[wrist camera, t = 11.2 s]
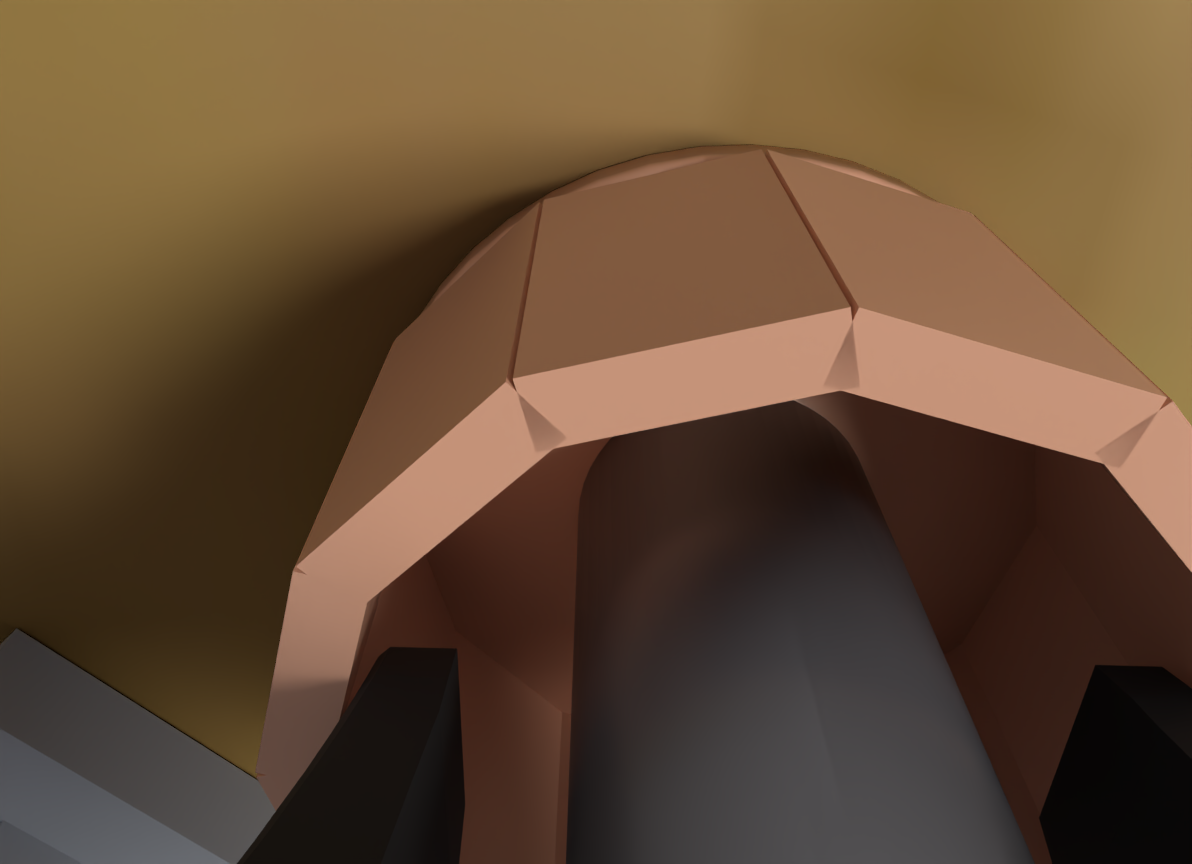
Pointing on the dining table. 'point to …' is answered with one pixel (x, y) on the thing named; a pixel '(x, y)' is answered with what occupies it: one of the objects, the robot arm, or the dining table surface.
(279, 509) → the dining table surface
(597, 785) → the battery cell
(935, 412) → the cup
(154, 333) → the dining table surface
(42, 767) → the checker housing
